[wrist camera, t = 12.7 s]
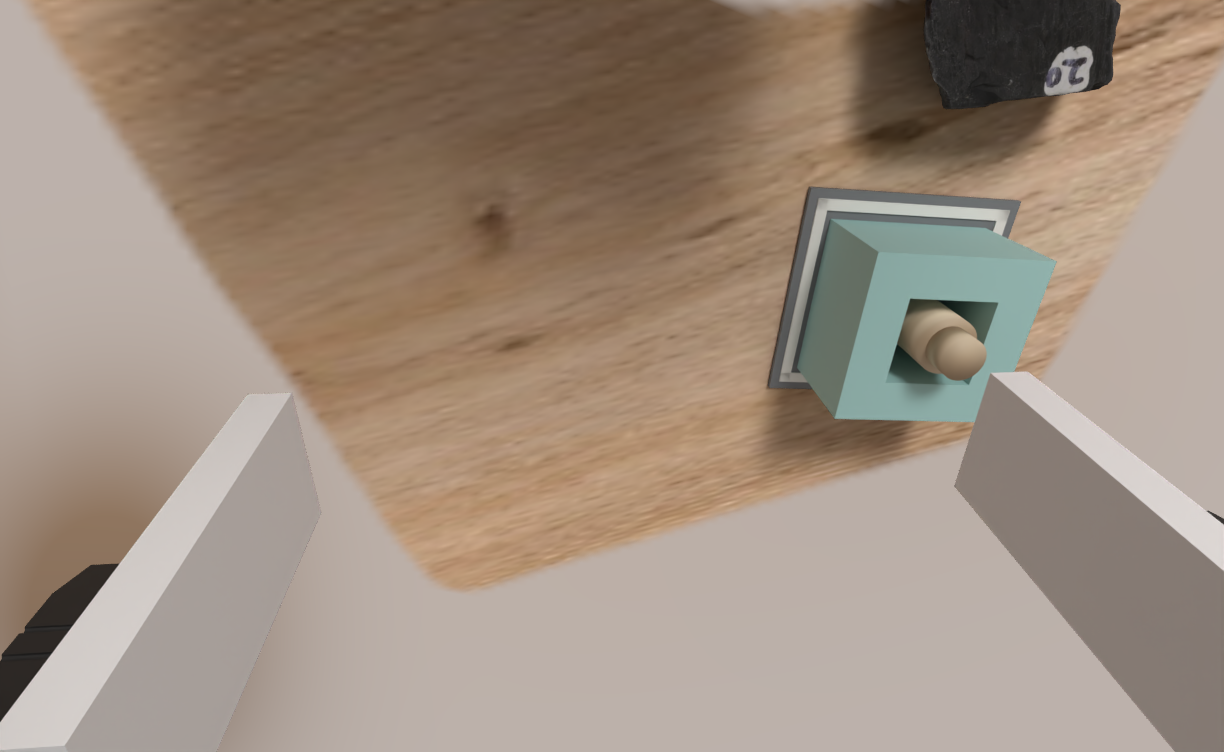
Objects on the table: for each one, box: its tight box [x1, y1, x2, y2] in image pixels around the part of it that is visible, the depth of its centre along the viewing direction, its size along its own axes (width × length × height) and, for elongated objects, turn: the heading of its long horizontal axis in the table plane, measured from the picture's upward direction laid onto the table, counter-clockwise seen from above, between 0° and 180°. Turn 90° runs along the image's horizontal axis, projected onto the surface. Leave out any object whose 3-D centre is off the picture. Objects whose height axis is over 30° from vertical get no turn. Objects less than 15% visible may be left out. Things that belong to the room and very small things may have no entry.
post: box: [897, 299, 987, 381], centre depth 36 cm, size 3×3×8 cm
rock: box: [924, 0, 1121, 109], centre depth 31 cm, size 10×9×6 cm
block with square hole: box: [797, 219, 1057, 422], centre depth 37 cm, size 9×9×6 cm
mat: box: [768, 187, 1021, 389], centre depth 40 cm, size 12×12×1 cm
